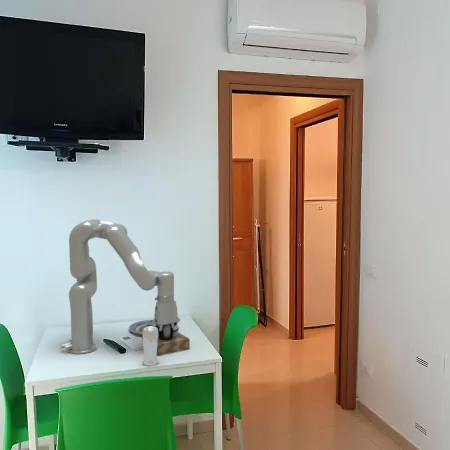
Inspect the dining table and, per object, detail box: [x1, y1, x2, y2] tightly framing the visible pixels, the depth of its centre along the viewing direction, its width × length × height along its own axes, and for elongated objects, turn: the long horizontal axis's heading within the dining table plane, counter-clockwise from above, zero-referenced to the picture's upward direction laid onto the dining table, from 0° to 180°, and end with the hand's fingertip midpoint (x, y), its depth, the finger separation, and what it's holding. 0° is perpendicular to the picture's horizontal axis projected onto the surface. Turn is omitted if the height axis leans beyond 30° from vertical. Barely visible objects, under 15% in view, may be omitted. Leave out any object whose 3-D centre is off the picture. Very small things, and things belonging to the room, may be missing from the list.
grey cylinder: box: [161, 324, 171, 341], centre depth 209 cm, size 4×4×8 cm
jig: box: [157, 331, 191, 357], centre depth 209 cm, size 18×12×6 cm, turn 123°
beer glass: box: [141, 326, 159, 367], centre depth 191 cm, size 7×7×15 cm
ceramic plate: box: [128, 319, 179, 335], centre depth 238 cm, size 26×26×3 cm
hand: (165, 337), depth 209 cm, fingers closed on grey cylinder, 4 cm apart
